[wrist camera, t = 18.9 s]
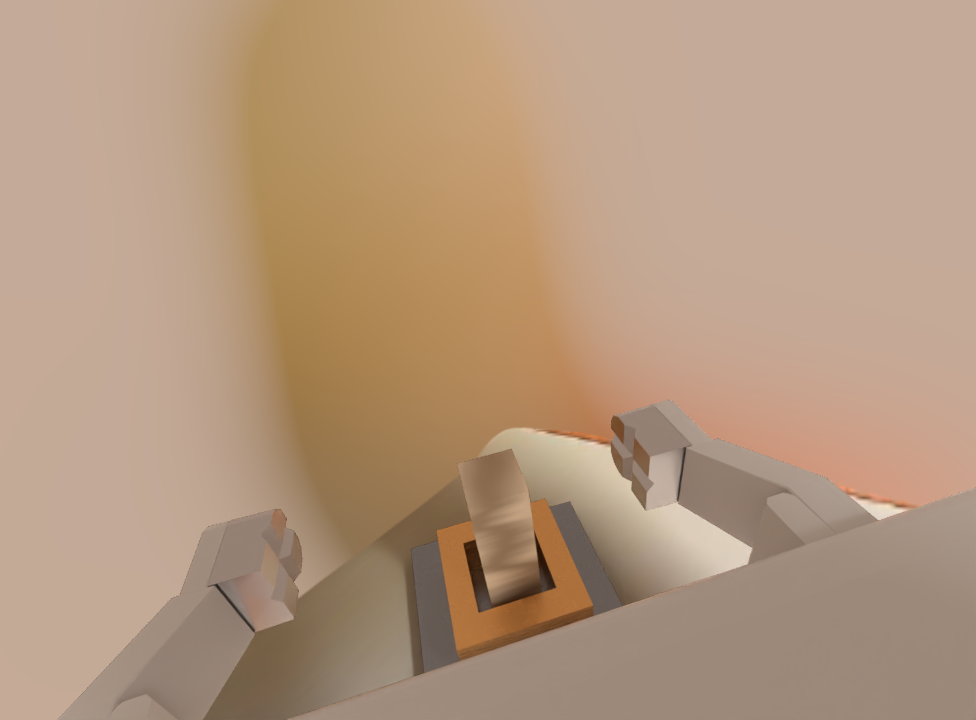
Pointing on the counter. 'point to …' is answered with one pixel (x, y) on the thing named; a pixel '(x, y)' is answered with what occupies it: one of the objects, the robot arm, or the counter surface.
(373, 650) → the counter surface
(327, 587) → the counter surface
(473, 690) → the robot arm
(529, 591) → the wedge pin
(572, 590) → the socket base
